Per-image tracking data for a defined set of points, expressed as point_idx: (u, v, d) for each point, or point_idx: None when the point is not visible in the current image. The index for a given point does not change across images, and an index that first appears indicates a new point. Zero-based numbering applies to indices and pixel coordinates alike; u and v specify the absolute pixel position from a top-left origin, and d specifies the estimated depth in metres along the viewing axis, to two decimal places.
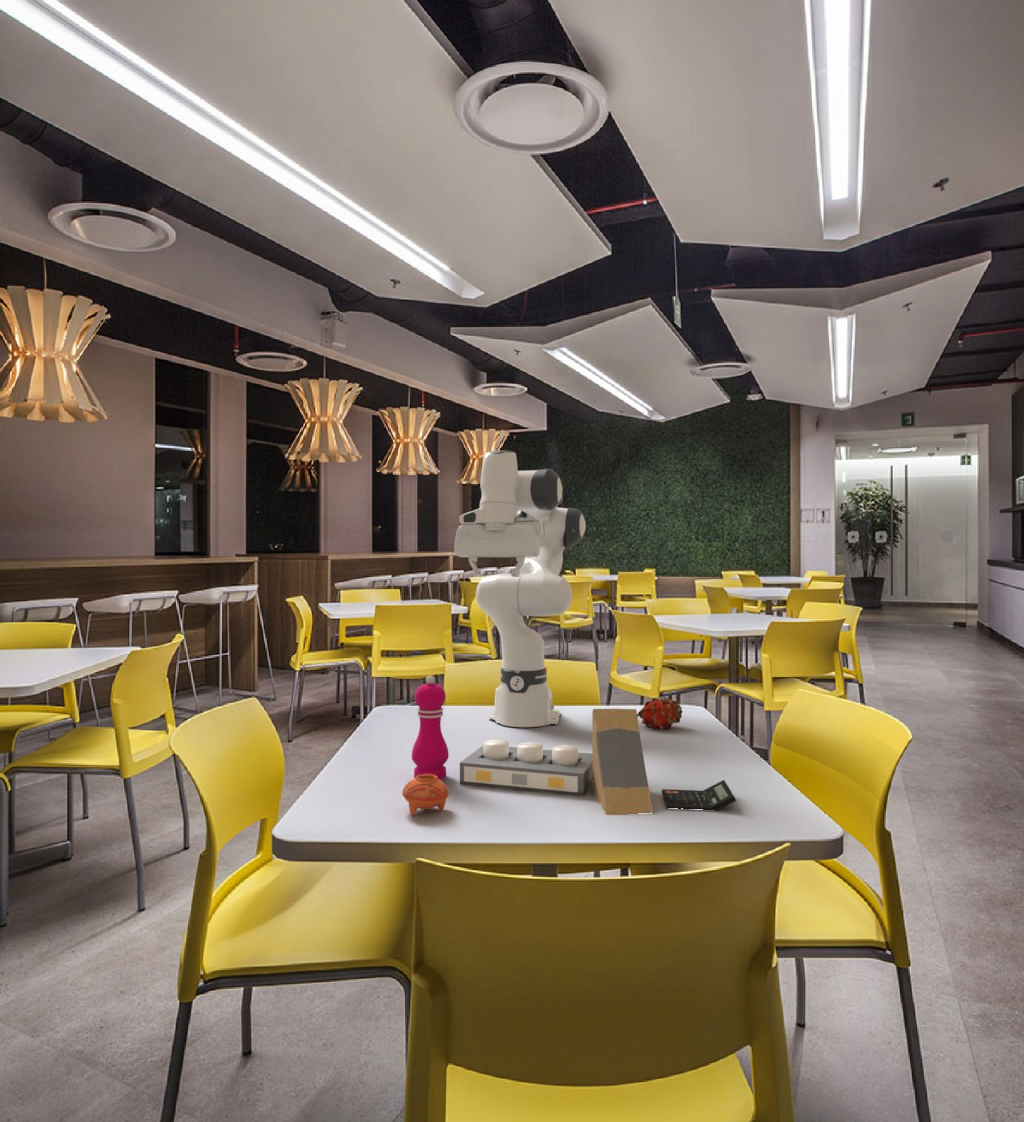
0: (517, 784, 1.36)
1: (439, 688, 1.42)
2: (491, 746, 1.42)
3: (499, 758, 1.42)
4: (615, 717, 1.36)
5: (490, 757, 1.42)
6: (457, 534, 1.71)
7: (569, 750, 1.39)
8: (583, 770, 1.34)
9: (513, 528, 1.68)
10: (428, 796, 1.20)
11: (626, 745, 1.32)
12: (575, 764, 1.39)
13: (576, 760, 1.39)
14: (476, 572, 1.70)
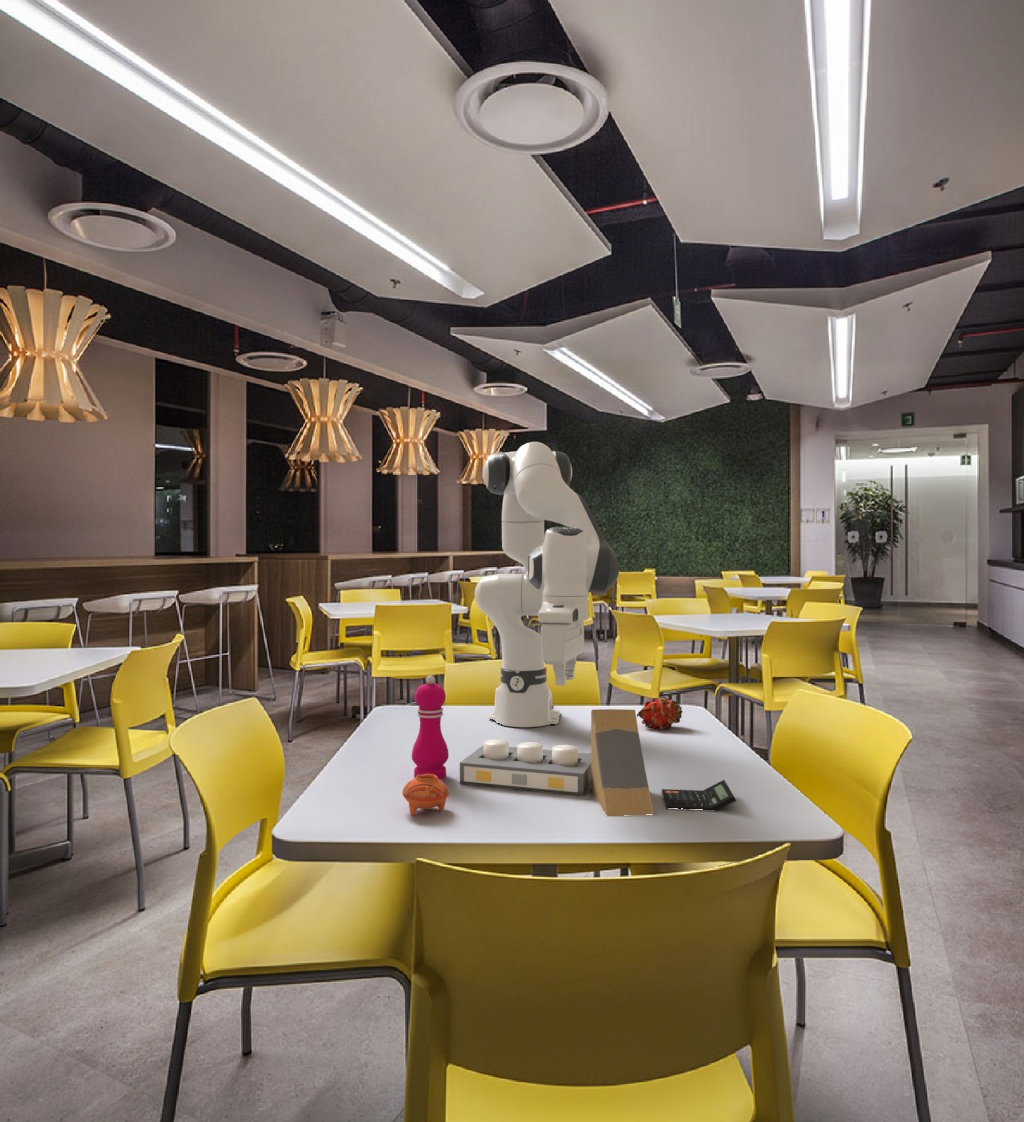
0: (517, 784, 1.36)
1: (439, 688, 1.42)
2: (491, 746, 1.42)
3: (499, 758, 1.42)
4: (614, 718, 1.35)
5: (490, 757, 1.42)
6: (566, 637, 1.31)
7: (569, 750, 1.39)
8: (583, 770, 1.34)
9: None
10: (428, 796, 1.21)
11: (626, 746, 1.31)
12: (575, 764, 1.39)
13: (576, 760, 1.39)
14: (565, 680, 1.37)
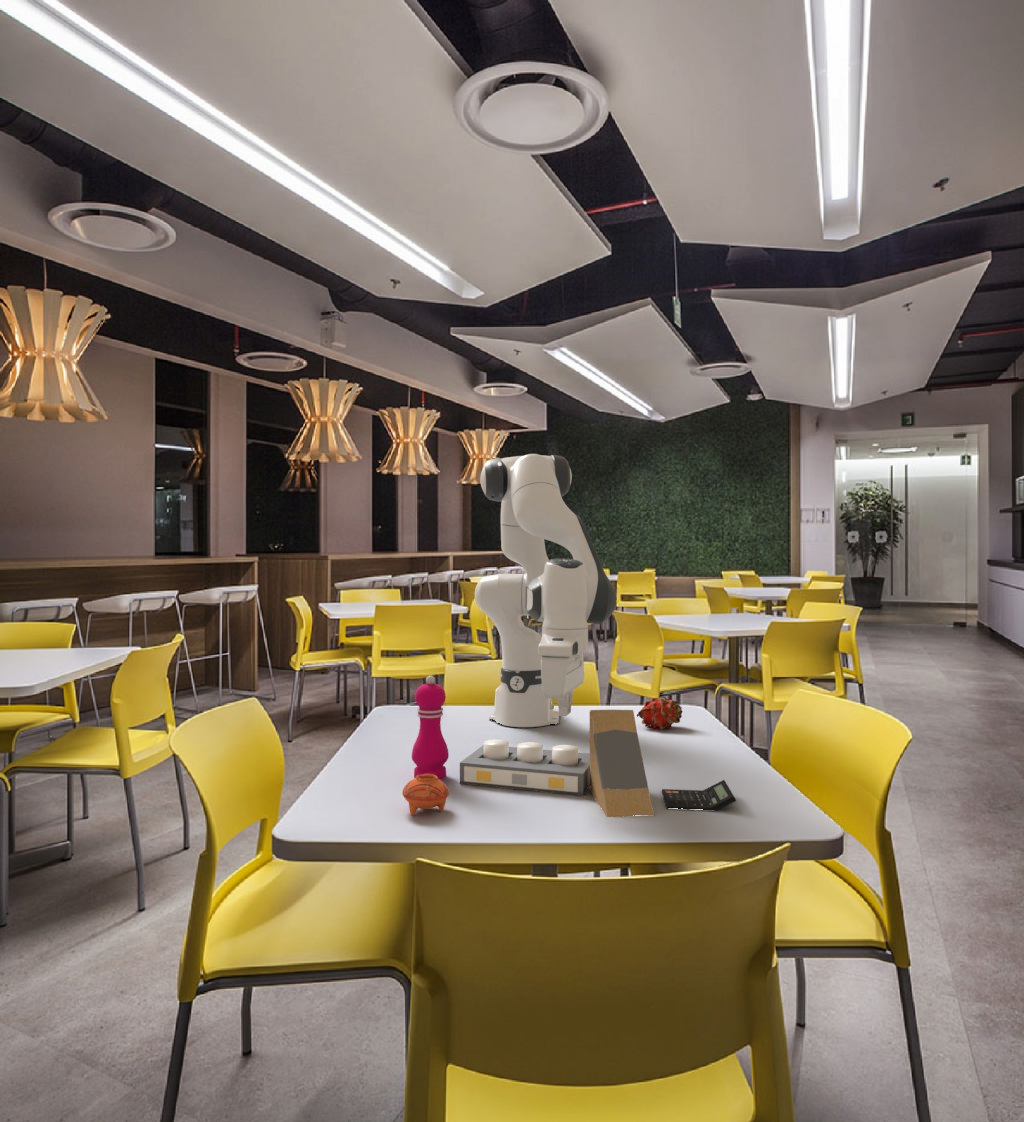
0: (517, 784, 1.36)
1: (439, 688, 1.42)
2: (491, 746, 1.42)
3: (499, 758, 1.42)
4: (612, 718, 1.35)
5: (490, 757, 1.42)
6: (566, 671, 1.31)
7: (569, 750, 1.39)
8: (583, 770, 1.34)
9: None
10: (428, 796, 1.21)
11: (625, 747, 1.31)
12: (575, 764, 1.39)
13: (576, 760, 1.39)
14: (568, 711, 1.40)
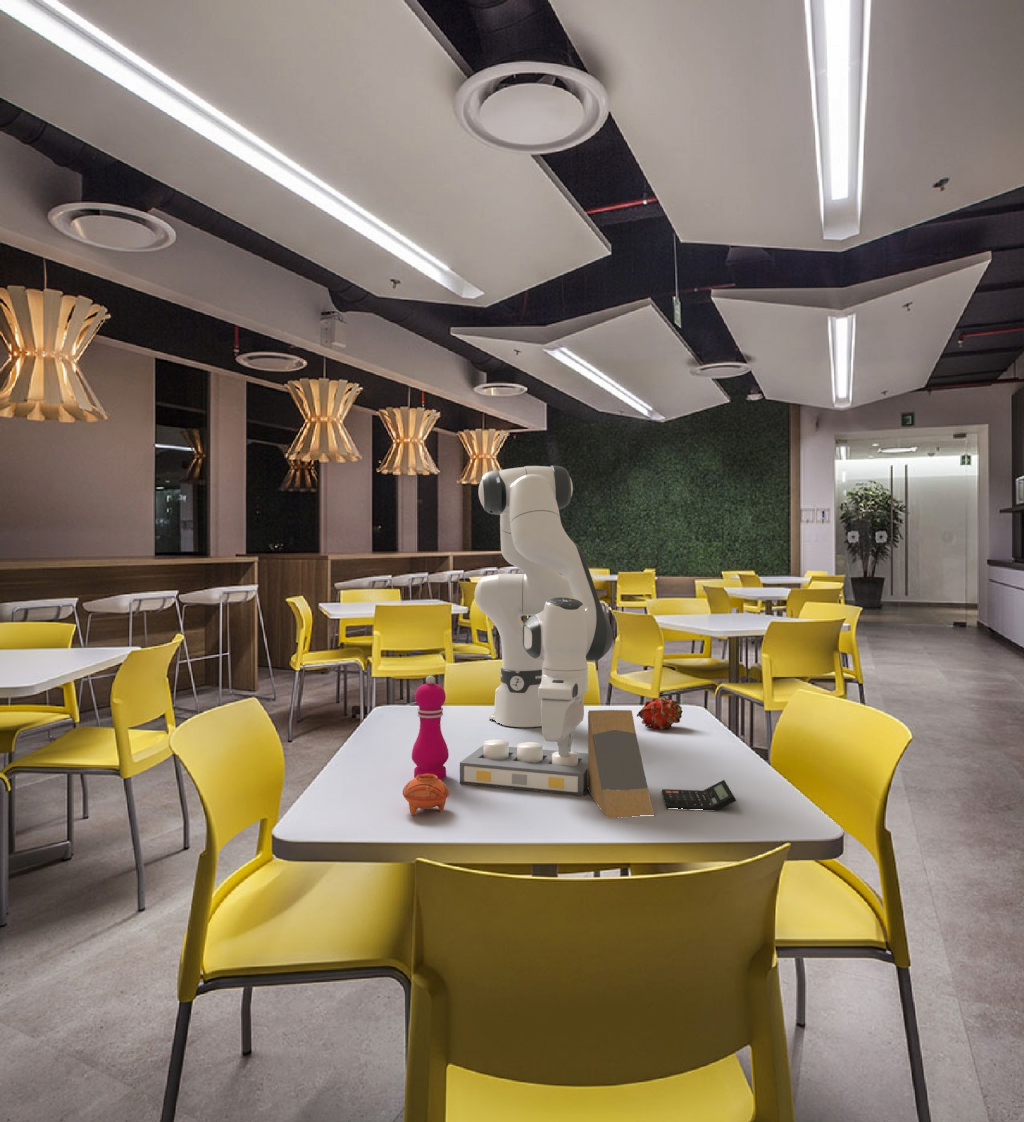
0: (517, 784, 1.36)
1: (439, 688, 1.42)
2: (491, 746, 1.42)
3: (499, 758, 1.42)
4: (611, 718, 1.35)
5: (490, 757, 1.42)
6: (566, 714, 1.31)
7: (569, 756, 1.39)
8: (583, 770, 1.34)
9: None
10: (428, 796, 1.21)
11: (624, 747, 1.31)
12: None
13: None
14: (568, 751, 1.40)
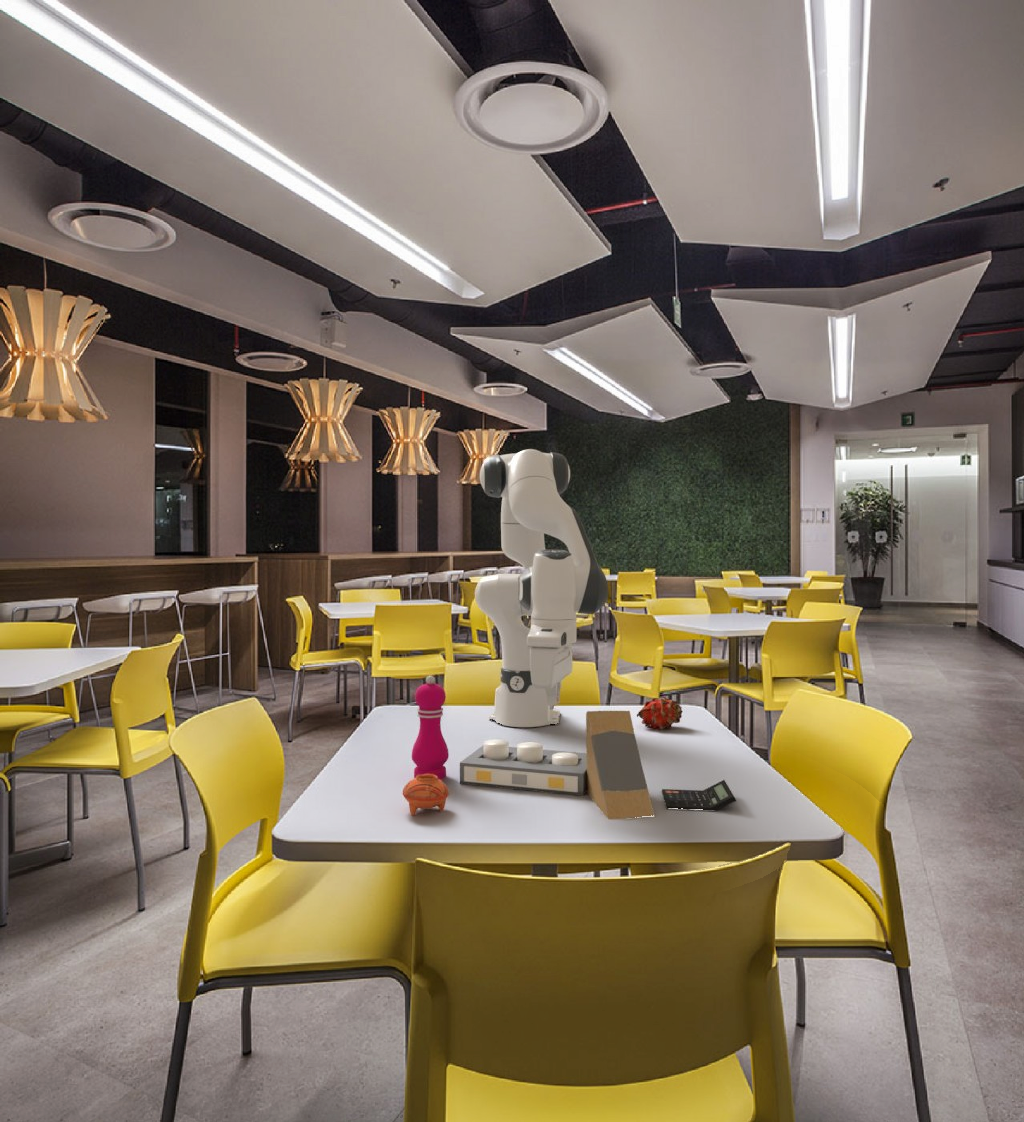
0: (517, 784, 1.36)
1: (439, 688, 1.42)
2: (491, 746, 1.42)
3: (499, 758, 1.42)
4: (609, 719, 1.34)
5: (490, 757, 1.42)
6: (554, 662, 1.32)
7: (569, 757, 1.39)
8: (583, 770, 1.34)
9: None
10: (428, 796, 1.21)
11: (623, 748, 1.30)
12: None
13: None
14: (557, 700, 1.41)
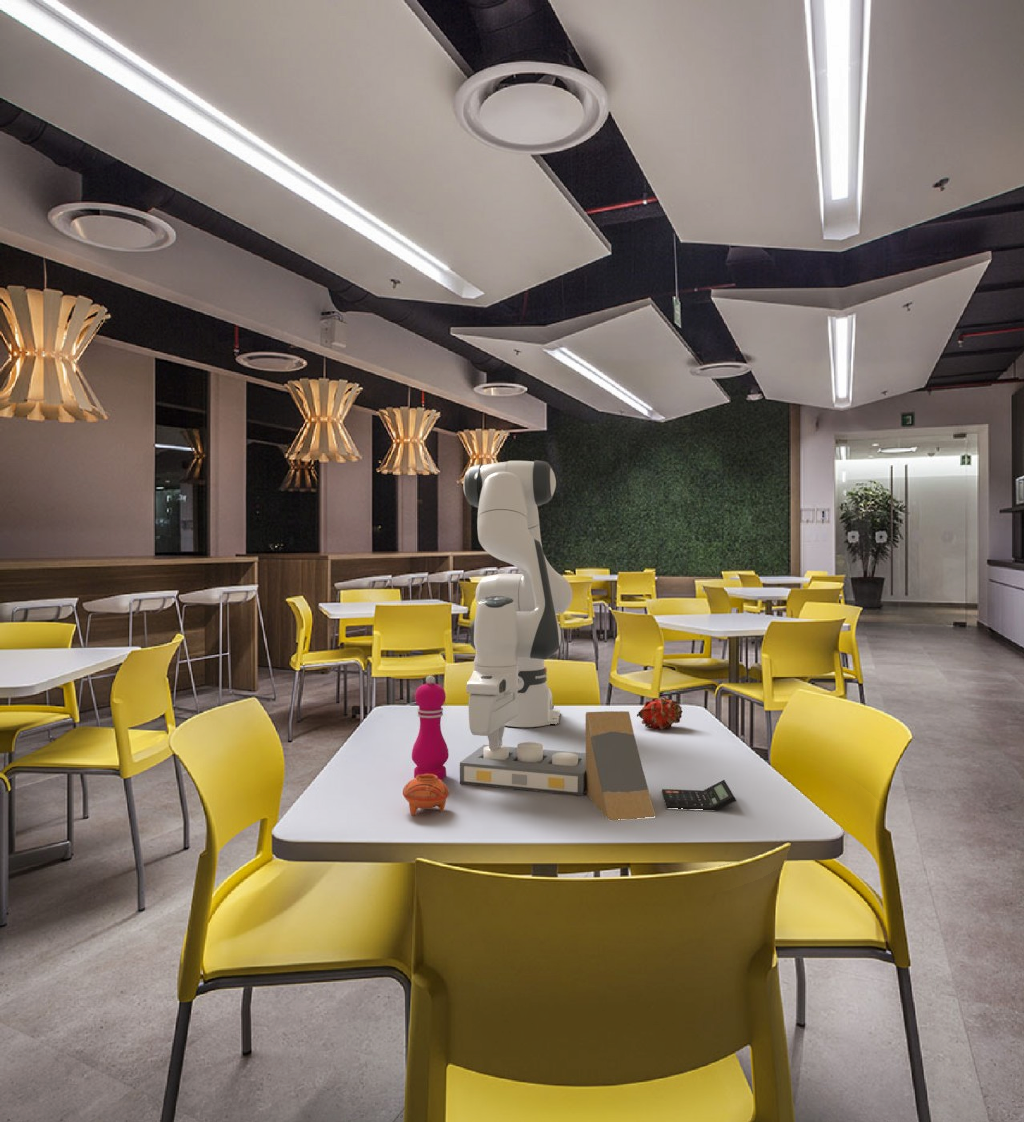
0: (517, 784, 1.36)
1: (439, 688, 1.42)
2: (491, 752, 1.42)
3: None
4: (609, 720, 1.34)
5: None
6: (492, 709, 1.35)
7: (569, 757, 1.39)
8: (583, 770, 1.34)
9: None
10: (428, 796, 1.21)
11: (623, 749, 1.30)
12: None
13: None
14: (499, 745, 1.44)
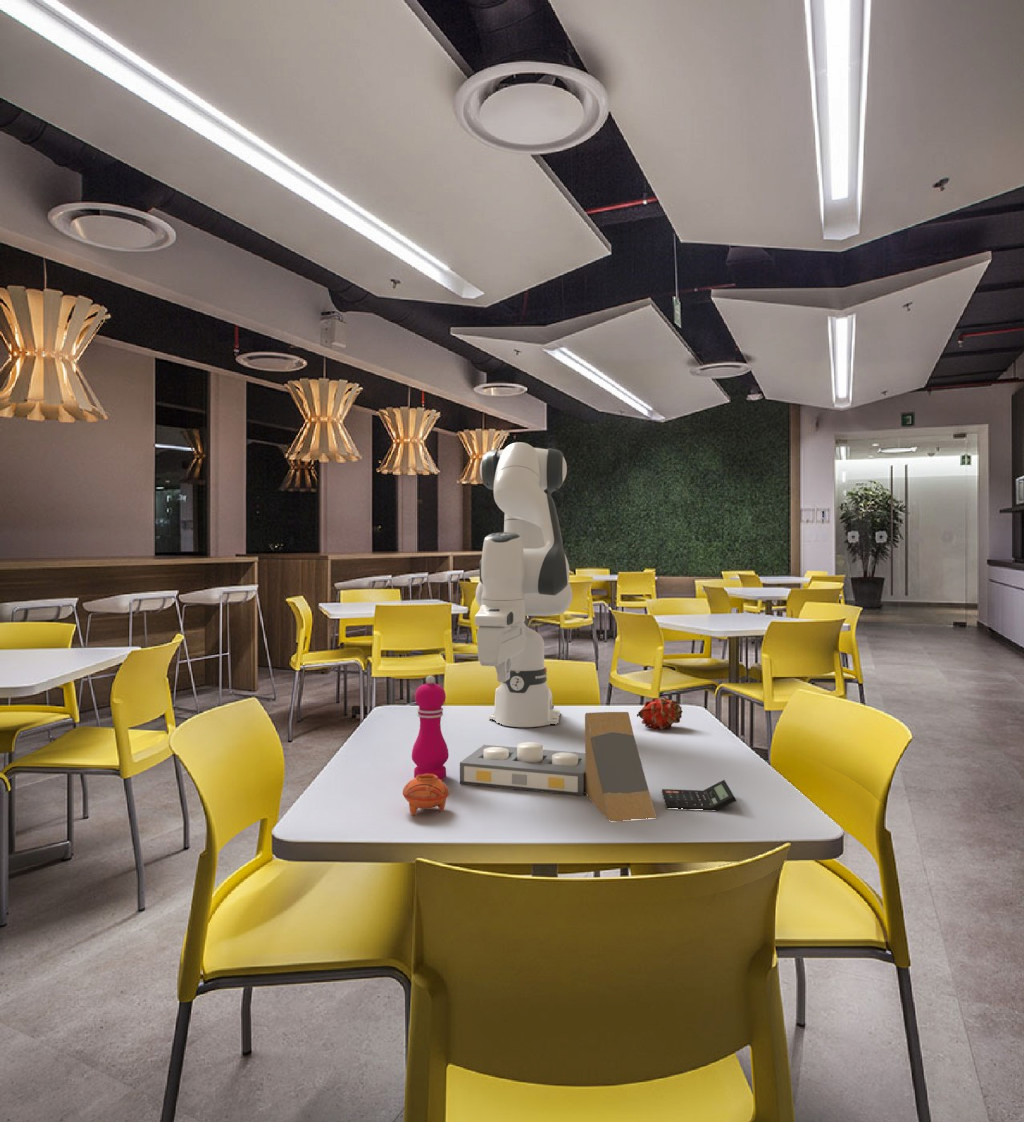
0: (517, 784, 1.36)
1: (439, 688, 1.42)
2: (491, 754, 1.42)
3: None
4: (609, 721, 1.33)
5: None
6: (500, 640, 1.38)
7: (569, 757, 1.39)
8: (583, 770, 1.34)
9: None
10: (428, 796, 1.21)
11: (623, 749, 1.29)
12: None
13: None
14: (507, 677, 1.47)
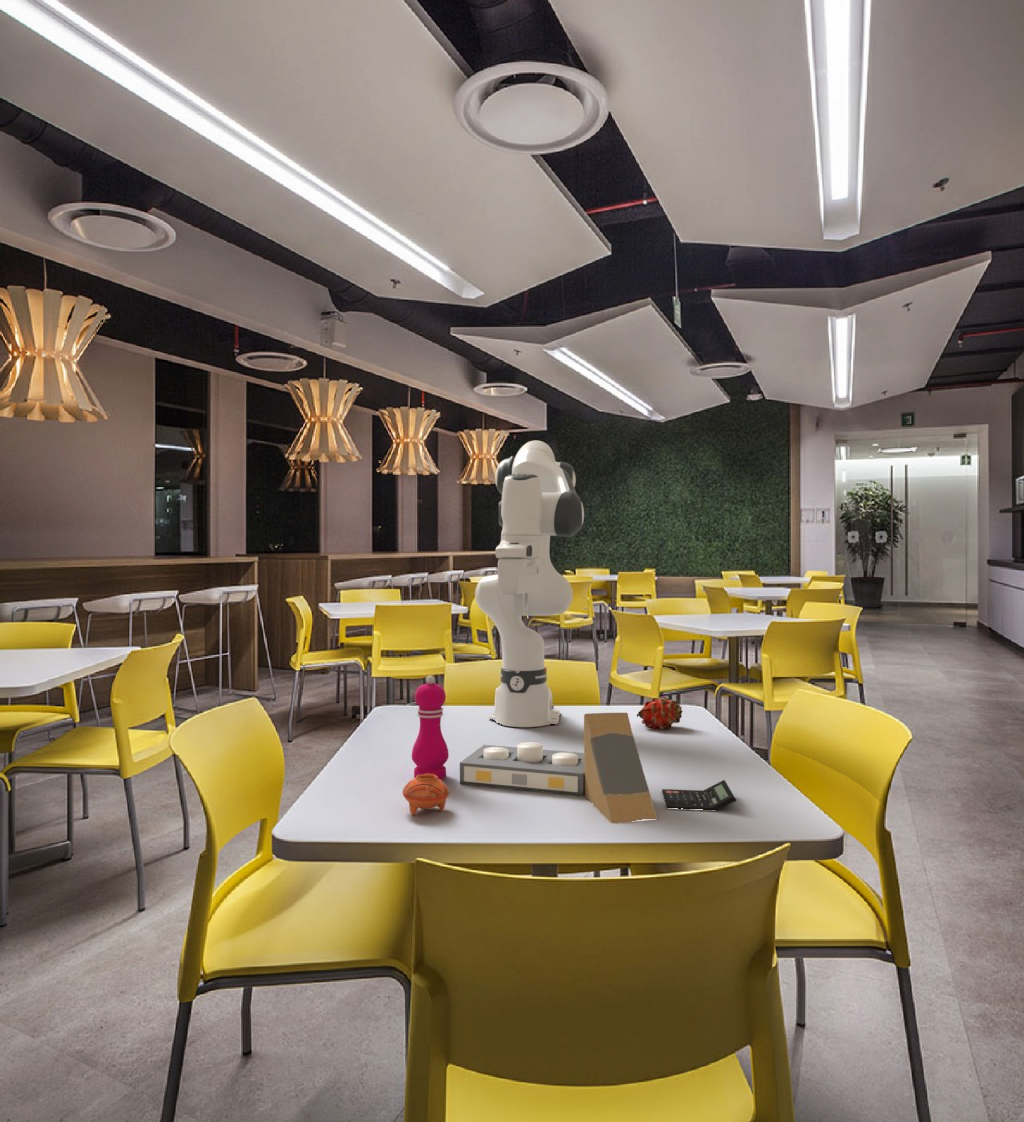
0: (517, 784, 1.36)
1: (439, 688, 1.42)
2: (491, 754, 1.42)
3: None
4: (608, 721, 1.32)
5: None
6: (520, 570, 1.45)
7: (569, 757, 1.39)
8: (583, 770, 1.34)
9: None
10: (428, 796, 1.21)
11: (623, 750, 1.29)
12: None
13: None
14: (524, 611, 1.54)
